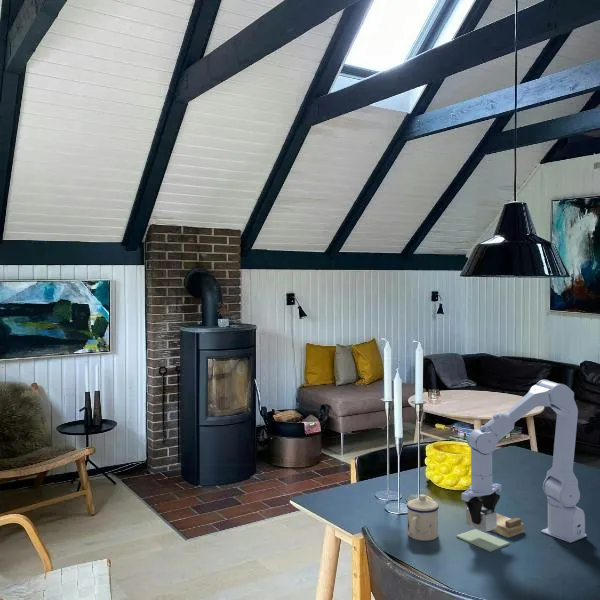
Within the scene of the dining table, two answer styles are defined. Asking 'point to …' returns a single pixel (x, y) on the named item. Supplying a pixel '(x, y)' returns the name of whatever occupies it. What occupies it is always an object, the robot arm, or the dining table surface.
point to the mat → (482, 540)
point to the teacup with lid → (422, 518)
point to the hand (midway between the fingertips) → (482, 521)
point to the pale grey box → (483, 519)
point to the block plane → (508, 526)
